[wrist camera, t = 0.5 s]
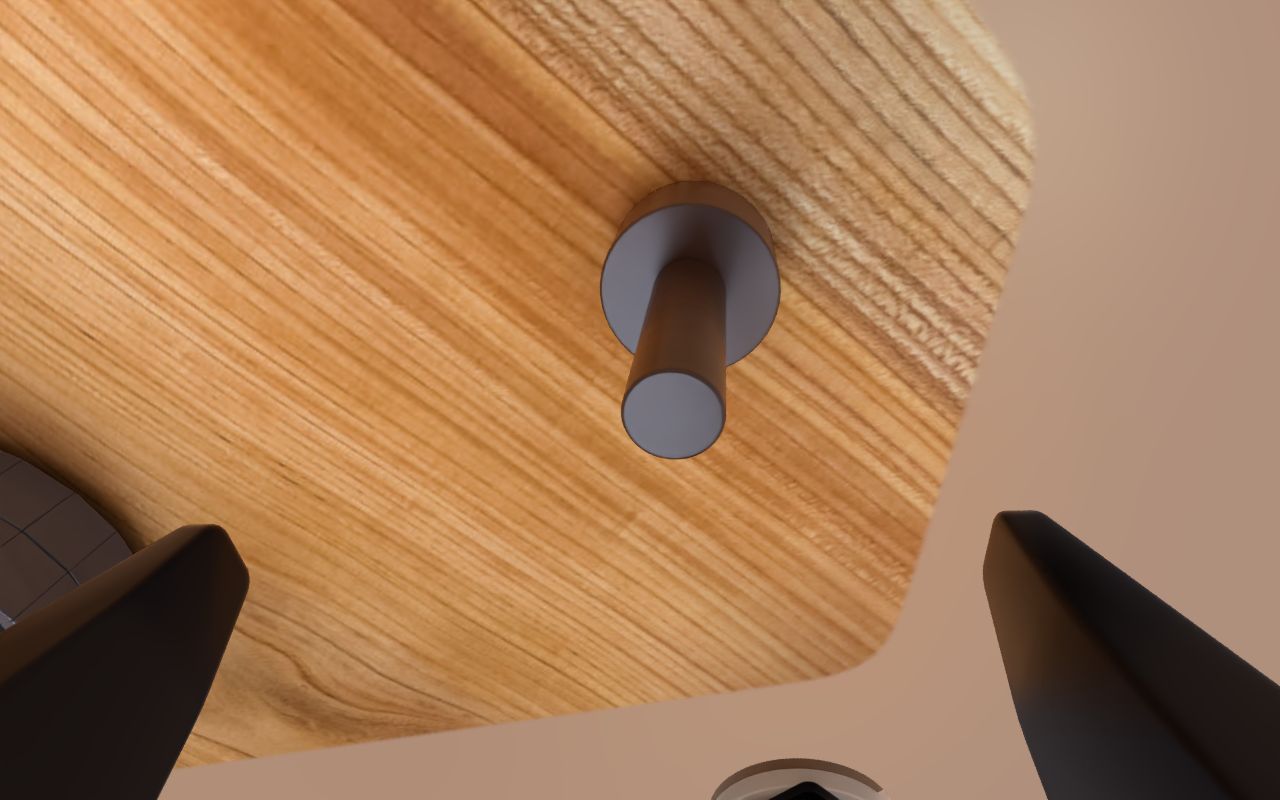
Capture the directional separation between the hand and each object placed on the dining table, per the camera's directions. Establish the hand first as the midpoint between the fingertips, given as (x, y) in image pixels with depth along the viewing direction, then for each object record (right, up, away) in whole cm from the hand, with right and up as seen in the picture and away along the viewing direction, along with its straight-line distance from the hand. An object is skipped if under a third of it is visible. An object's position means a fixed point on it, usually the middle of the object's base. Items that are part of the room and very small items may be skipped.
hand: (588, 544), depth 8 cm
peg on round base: (+2, +5, +11) cm, 13 cm away
